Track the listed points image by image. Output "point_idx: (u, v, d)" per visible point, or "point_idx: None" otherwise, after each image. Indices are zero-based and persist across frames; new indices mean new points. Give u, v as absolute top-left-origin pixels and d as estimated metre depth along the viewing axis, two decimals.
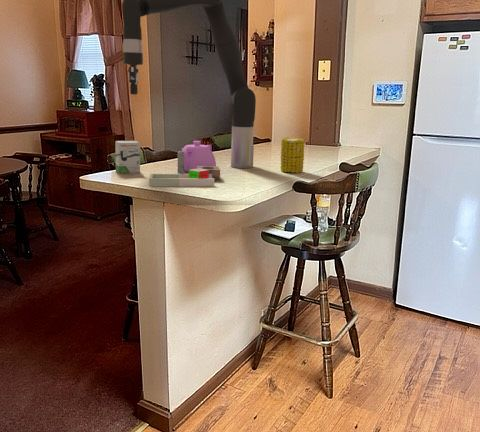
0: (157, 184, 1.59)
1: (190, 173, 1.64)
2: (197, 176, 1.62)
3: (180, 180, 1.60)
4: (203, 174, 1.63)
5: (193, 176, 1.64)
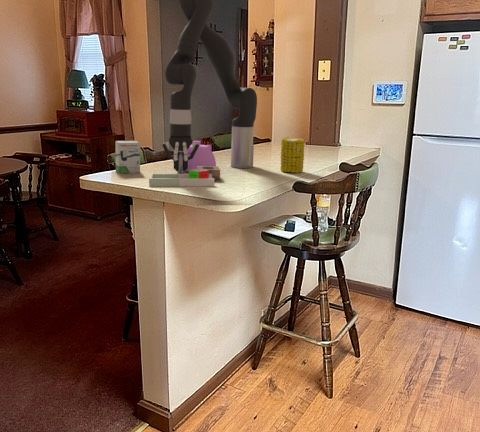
0: (157, 184, 1.59)
1: (190, 173, 1.64)
2: (197, 176, 1.62)
3: (180, 180, 1.60)
4: (203, 174, 1.63)
5: (193, 176, 1.63)
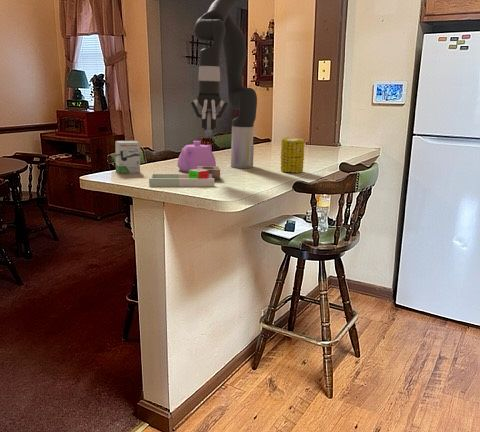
0: (157, 184, 1.59)
1: (190, 173, 1.64)
2: (197, 176, 1.62)
3: (180, 180, 1.60)
4: (203, 174, 1.63)
5: (193, 176, 1.63)
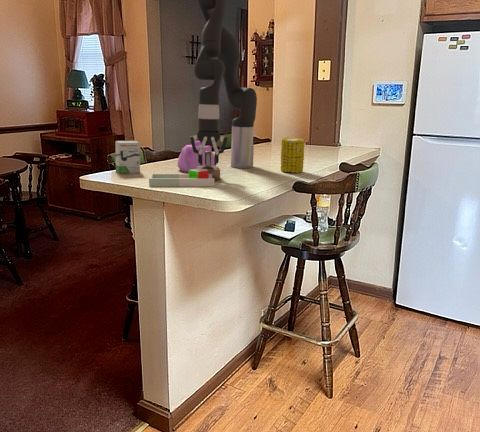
0: (157, 184, 1.59)
1: (190, 173, 1.64)
2: (196, 176, 1.62)
3: (180, 180, 1.60)
4: (203, 174, 1.63)
5: (193, 176, 1.63)
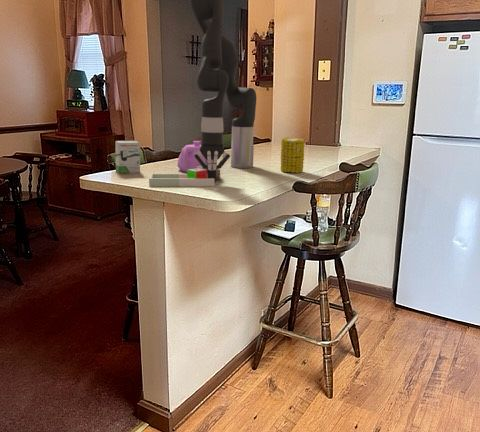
0: (157, 184, 1.59)
1: (188, 173, 1.64)
2: (194, 176, 1.62)
3: (180, 180, 1.60)
4: (201, 174, 1.63)
5: (191, 176, 1.63)
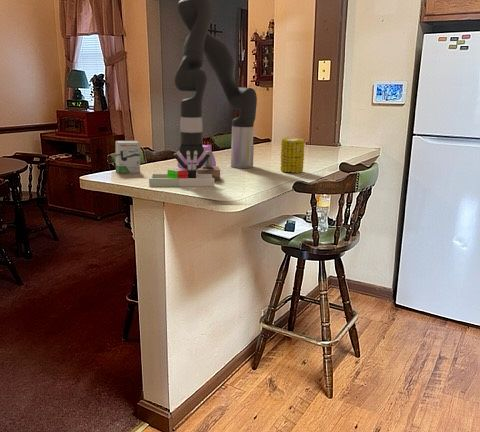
0: (157, 184, 1.59)
1: (169, 173, 1.63)
2: (176, 176, 1.61)
3: (180, 180, 1.60)
4: (182, 174, 1.62)
5: (172, 176, 1.62)
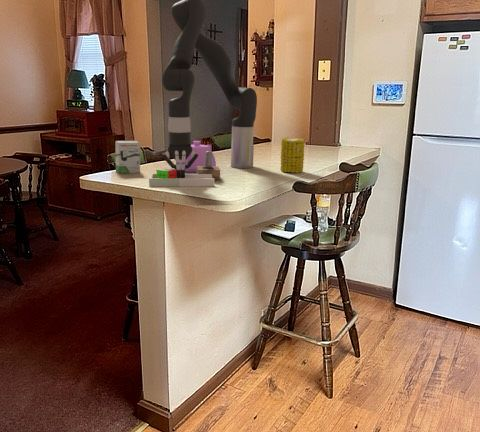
0: (157, 184, 1.59)
1: (158, 173, 1.62)
2: (166, 176, 1.60)
3: (180, 180, 1.60)
4: (172, 174, 1.62)
5: (161, 176, 1.61)
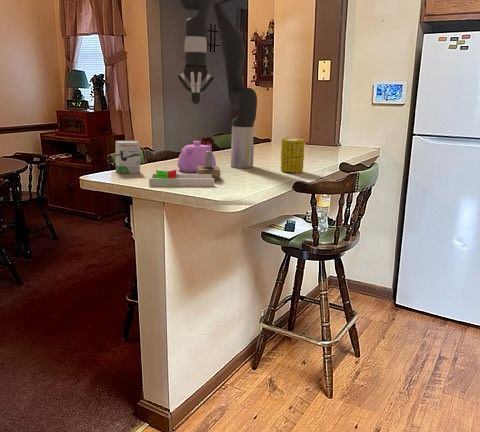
0: (157, 184, 1.59)
1: (158, 173, 1.62)
2: (166, 176, 1.60)
3: (180, 180, 1.60)
4: (171, 174, 1.62)
5: (161, 176, 1.61)
